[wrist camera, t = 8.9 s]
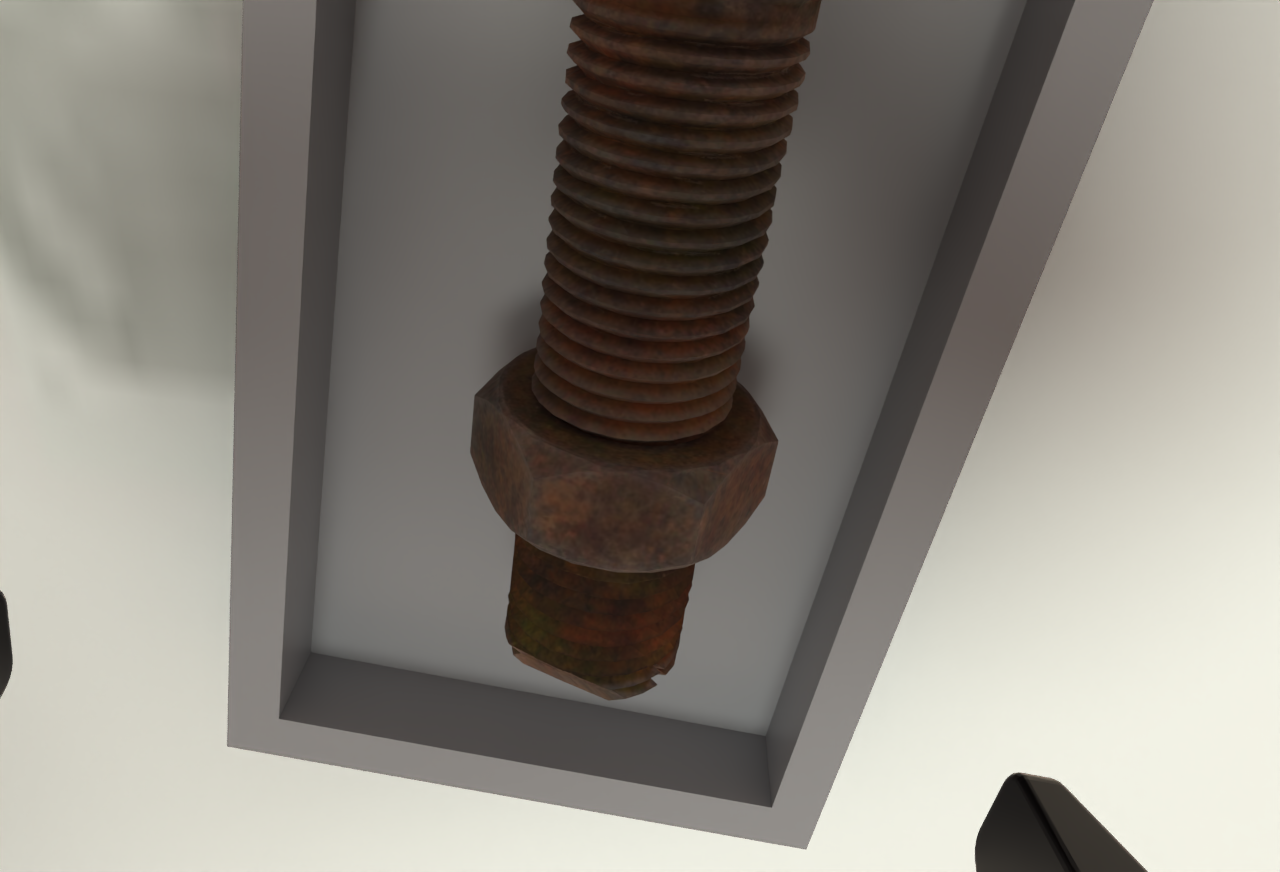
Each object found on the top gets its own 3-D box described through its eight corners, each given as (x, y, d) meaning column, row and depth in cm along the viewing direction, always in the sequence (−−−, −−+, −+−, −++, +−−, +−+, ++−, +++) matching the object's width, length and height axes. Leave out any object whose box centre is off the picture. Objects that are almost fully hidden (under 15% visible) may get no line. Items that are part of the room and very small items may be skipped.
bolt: (570, 527, 23) (689, -311, 15) (777, 634, 21) (1031, -270, 13) (376, 670, 18) (406, -409, 11) (614, 824, 16) (858, -370, 9)
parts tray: (270, 663, 24) (226, 746, 21) (332, -687, 13) (259, -797, 11) (795, 759, 24) (806, 849, 22) (1253, -447, 14) (1360, -505, 12)
